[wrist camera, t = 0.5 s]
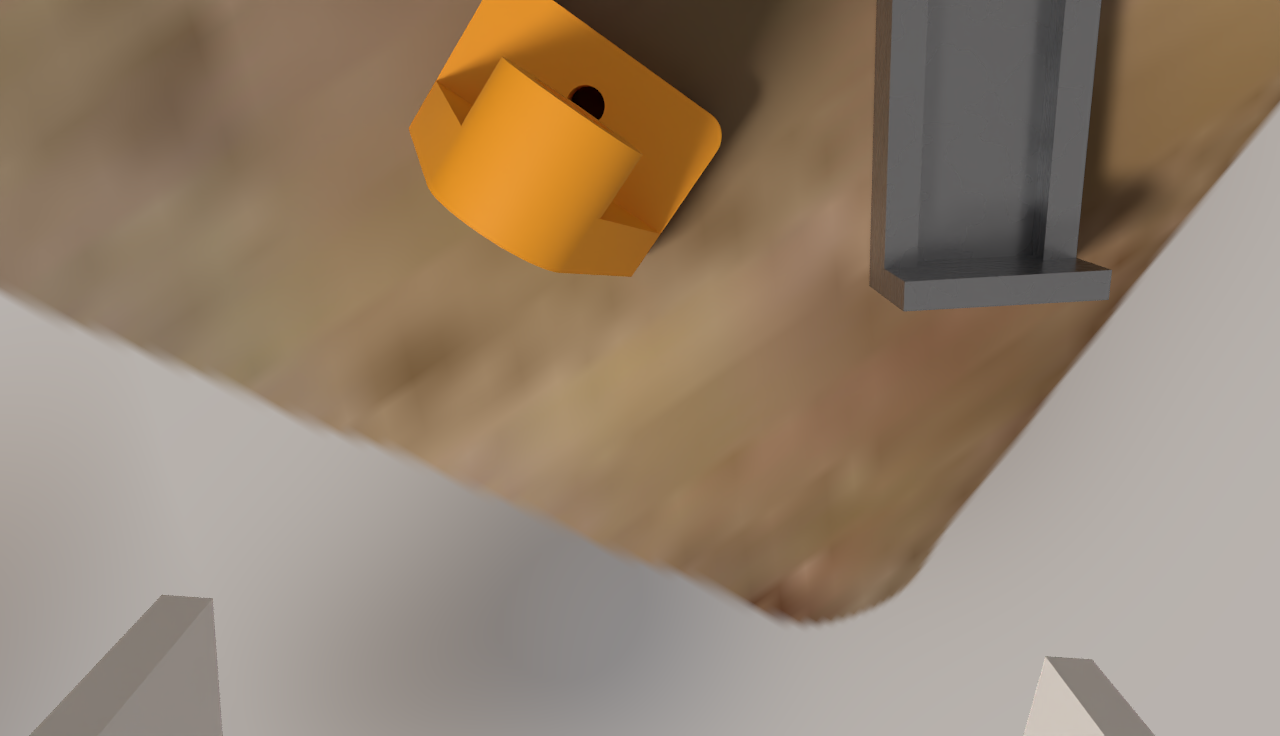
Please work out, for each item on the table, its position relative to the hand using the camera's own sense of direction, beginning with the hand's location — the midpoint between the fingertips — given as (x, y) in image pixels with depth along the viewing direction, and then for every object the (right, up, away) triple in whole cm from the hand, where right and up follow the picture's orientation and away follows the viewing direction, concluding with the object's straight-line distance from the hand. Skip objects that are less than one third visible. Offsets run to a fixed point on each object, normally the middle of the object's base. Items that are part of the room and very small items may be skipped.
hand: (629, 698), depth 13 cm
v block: (+14, +18, +22) cm, 32 cm away
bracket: (-3, +16, +23) cm, 28 cm away
